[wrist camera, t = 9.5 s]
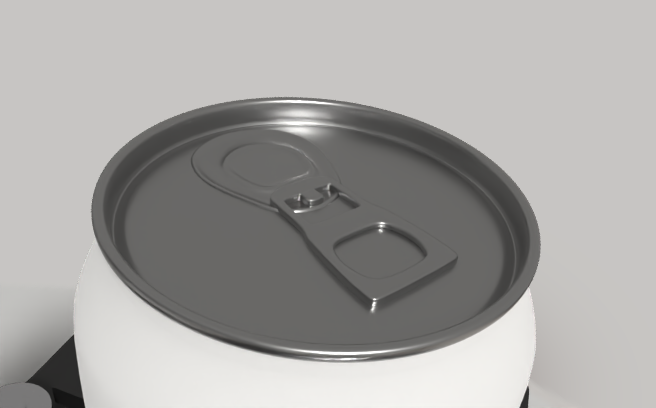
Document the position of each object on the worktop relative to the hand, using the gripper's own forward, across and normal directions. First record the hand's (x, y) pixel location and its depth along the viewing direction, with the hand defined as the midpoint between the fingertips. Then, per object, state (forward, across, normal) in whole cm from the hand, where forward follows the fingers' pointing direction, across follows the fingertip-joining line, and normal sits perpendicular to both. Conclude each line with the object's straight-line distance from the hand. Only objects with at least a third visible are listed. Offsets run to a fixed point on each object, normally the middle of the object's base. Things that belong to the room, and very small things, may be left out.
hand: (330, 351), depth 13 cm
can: (-2, 0, +7) cm, 7 cm away
